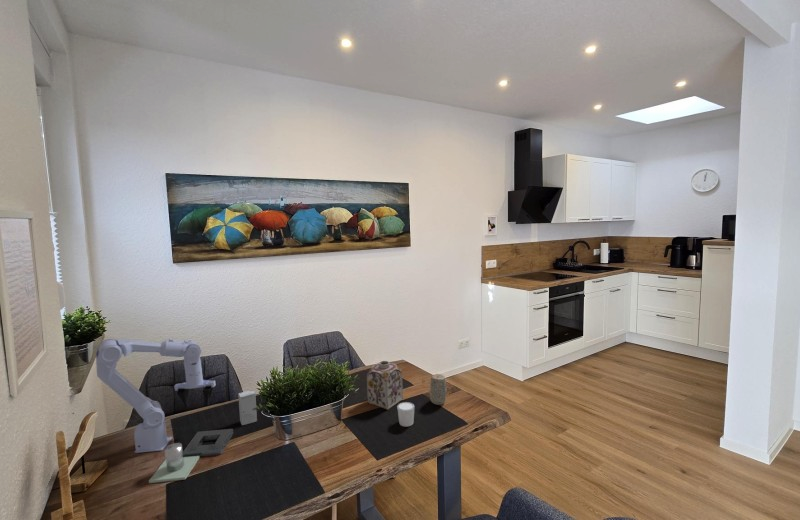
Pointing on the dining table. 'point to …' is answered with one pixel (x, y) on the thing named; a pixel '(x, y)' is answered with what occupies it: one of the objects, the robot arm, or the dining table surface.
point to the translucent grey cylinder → (174, 457)
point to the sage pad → (180, 474)
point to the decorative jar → (384, 385)
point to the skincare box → (247, 407)
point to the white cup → (406, 413)
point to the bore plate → (204, 450)
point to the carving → (438, 389)
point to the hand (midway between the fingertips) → (197, 405)
